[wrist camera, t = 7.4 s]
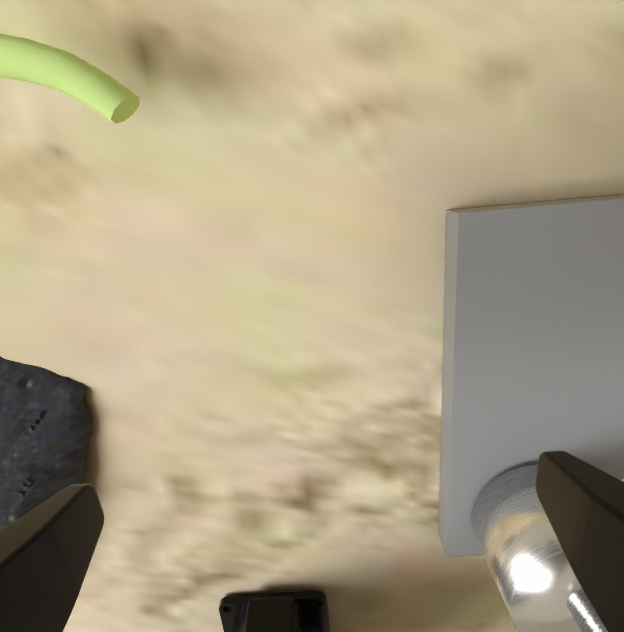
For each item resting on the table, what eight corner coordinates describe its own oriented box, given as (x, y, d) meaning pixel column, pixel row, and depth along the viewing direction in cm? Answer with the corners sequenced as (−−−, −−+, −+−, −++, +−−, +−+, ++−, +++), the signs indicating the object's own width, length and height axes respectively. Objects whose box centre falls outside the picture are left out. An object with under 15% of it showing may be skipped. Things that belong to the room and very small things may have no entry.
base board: (726, 515, 22) (754, 538, 21) (438, 533, 23) (446, 557, 22) (838, 175, 16) (888, 175, 15) (446, 209, 17) (458, 213, 16)
